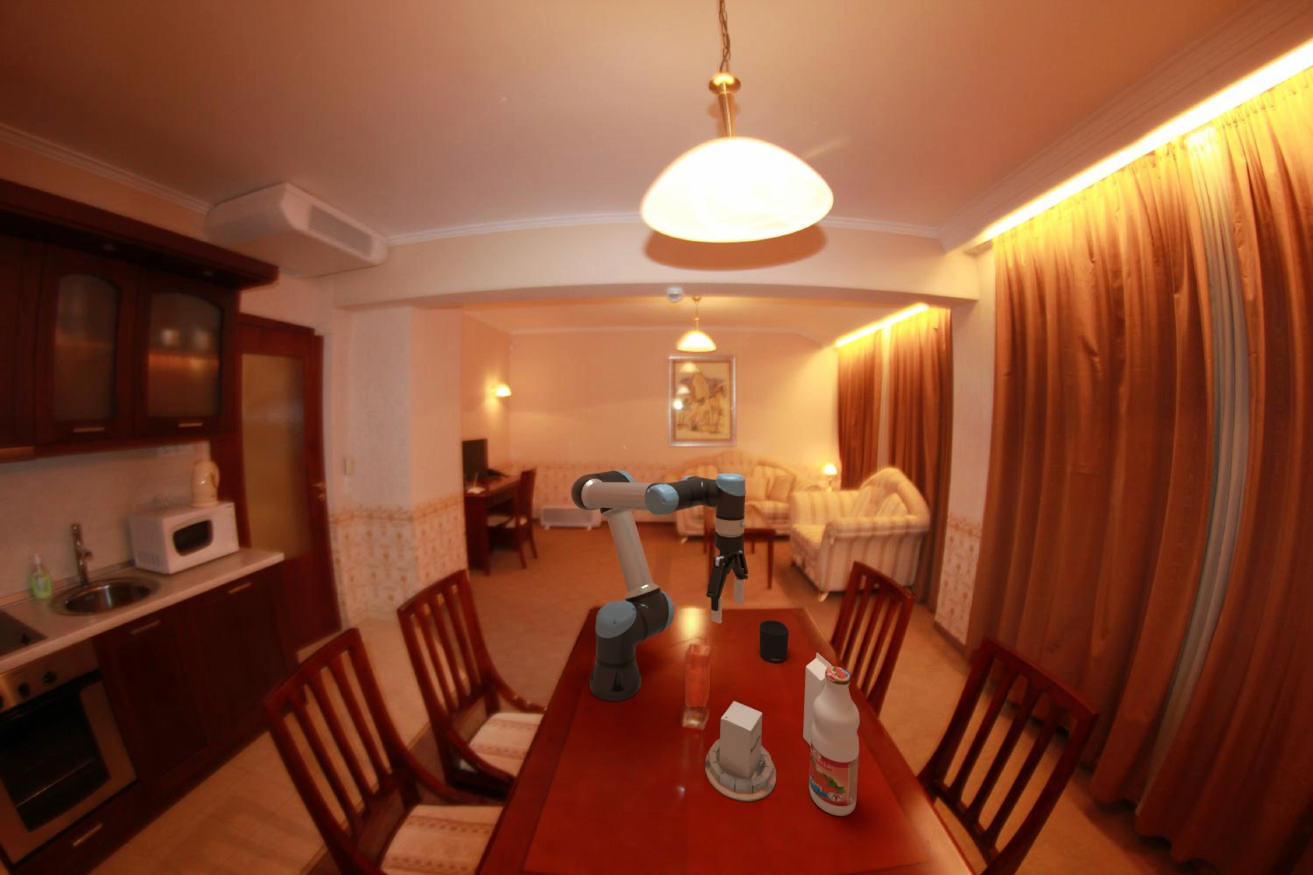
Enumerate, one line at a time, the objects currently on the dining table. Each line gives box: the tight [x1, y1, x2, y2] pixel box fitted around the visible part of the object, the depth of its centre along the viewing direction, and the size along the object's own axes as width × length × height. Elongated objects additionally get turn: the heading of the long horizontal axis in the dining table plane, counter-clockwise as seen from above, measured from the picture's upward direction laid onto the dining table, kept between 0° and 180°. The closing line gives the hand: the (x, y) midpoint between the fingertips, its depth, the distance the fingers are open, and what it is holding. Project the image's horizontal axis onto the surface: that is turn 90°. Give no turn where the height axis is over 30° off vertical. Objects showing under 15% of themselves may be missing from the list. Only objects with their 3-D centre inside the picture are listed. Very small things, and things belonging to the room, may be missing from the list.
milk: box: [802, 652, 833, 747], centre depth 109 cm, size 6×6×22 cm
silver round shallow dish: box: [704, 738, 777, 803], centre depth 101 cm, size 16×16×3 cm
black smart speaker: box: [759, 619, 790, 664], centre depth 147 cm, size 9×9×10 cm
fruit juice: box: [808, 665, 860, 817], centre depth 94 cm, size 9×9×28 cm
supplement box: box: [719, 700, 763, 780], centre depth 101 cm, size 7×7×13 cm
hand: (727, 611), depth 118 cm, fingers open, 13 cm apart
